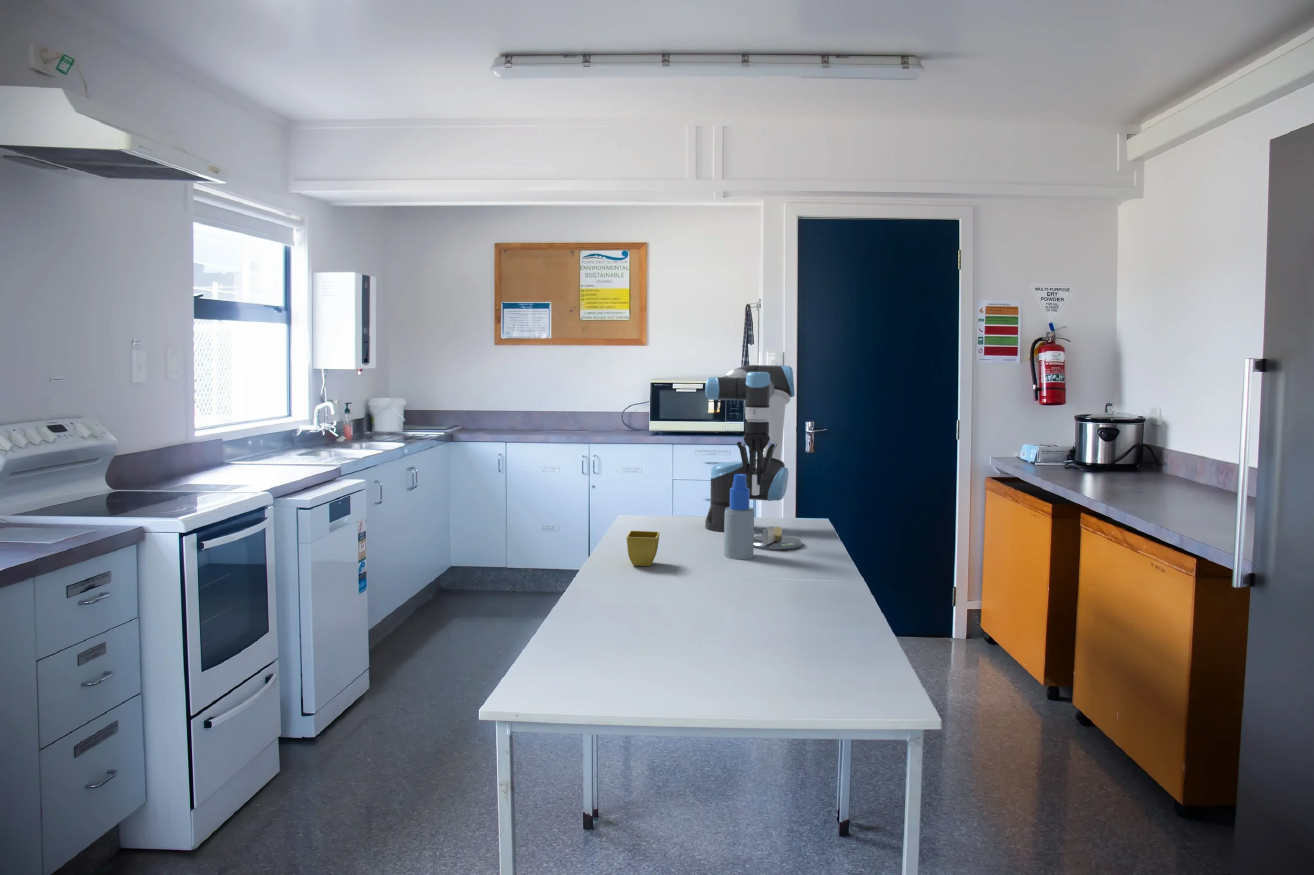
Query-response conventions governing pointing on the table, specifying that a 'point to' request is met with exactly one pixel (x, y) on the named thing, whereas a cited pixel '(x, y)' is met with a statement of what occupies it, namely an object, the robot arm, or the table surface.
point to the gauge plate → (778, 544)
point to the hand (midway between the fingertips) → (755, 494)
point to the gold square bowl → (642, 547)
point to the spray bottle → (739, 522)
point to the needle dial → (772, 534)
